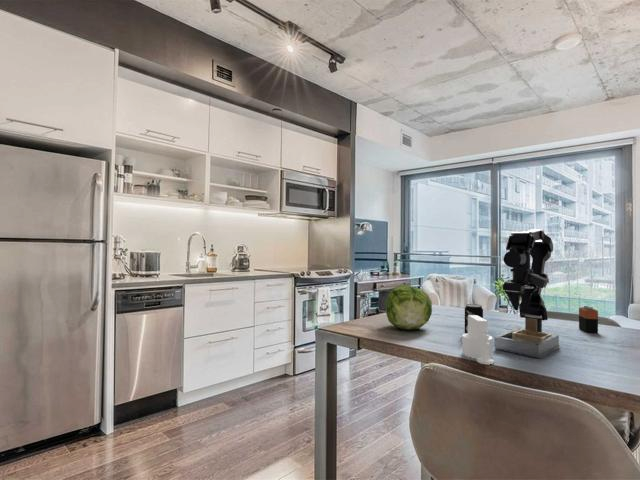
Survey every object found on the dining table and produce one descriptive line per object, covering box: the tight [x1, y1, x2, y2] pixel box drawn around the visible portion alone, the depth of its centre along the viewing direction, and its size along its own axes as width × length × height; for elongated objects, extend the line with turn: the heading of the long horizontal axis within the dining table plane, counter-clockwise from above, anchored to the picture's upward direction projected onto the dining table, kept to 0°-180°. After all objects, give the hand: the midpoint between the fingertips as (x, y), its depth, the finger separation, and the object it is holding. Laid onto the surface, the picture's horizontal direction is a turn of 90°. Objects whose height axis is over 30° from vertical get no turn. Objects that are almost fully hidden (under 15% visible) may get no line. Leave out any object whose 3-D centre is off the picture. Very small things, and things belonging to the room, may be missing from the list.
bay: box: [493, 327, 560, 359], centre depth 128 cm, size 19×14×4 cm
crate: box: [512, 318, 553, 344], centre depth 131 cm, size 8×10×8 cm
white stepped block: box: [461, 315, 493, 359], centre depth 121 cm, size 9×9×12 cm
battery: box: [578, 305, 599, 334], centre depth 153 cm, size 4×7×10 cm, turn 168°
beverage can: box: [464, 303, 484, 334], centre depth 145 cm, size 7×7×12 cm
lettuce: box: [384, 284, 433, 331], centre depth 156 cm, size 19×23×18 cm
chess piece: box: [476, 328, 495, 366], centre depth 114 cm, size 5×5×10 cm
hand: (521, 308), depth 138 cm, fingers open, 9 cm apart
